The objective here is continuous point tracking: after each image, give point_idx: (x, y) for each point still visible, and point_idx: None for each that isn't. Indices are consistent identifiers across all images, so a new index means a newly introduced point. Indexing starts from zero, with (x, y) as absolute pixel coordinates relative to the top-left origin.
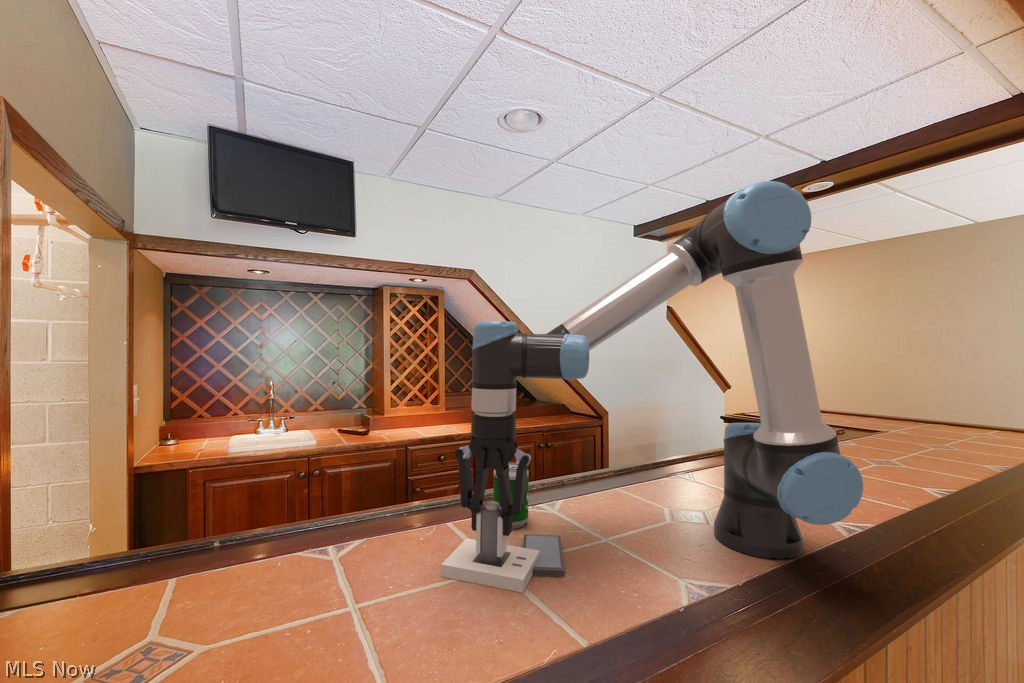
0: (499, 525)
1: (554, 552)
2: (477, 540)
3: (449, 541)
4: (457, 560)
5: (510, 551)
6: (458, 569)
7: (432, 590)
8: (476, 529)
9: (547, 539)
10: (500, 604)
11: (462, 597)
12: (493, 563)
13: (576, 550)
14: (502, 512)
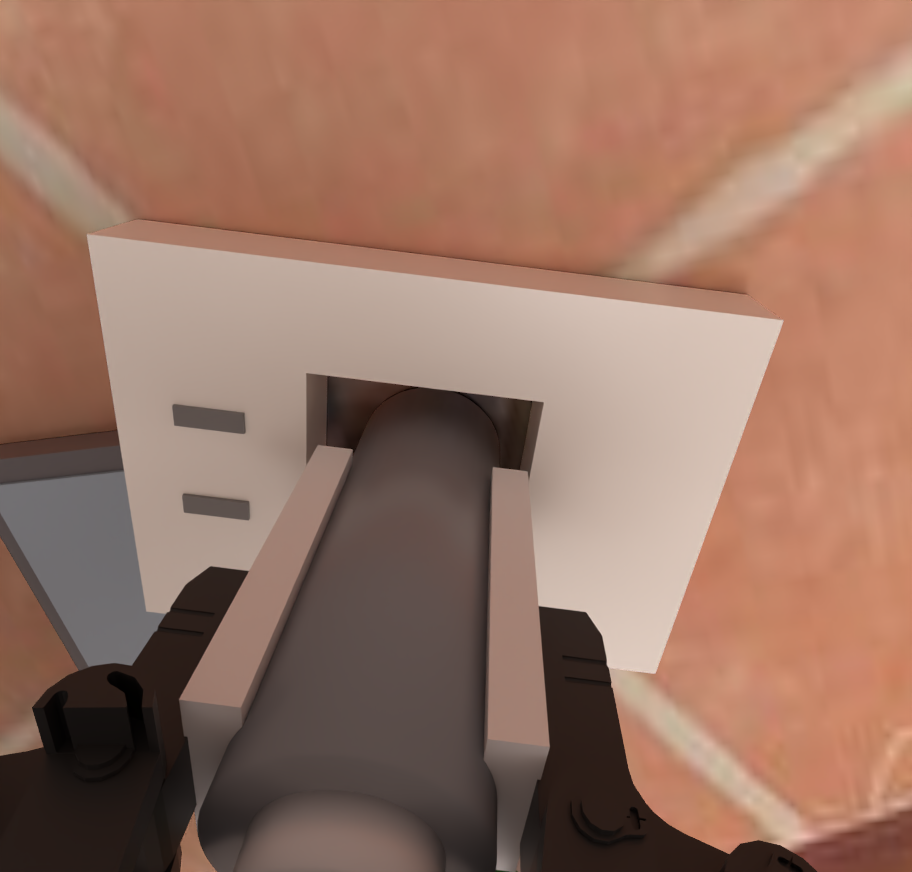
0: (248, 624)
1: (95, 630)
2: (518, 528)
3: (761, 681)
4: (659, 400)
5: None
6: (625, 296)
7: (781, 96)
8: (536, 599)
9: None
10: (228, 30)
11: (527, 54)
12: (385, 421)
13: (45, 690)
14: (139, 771)
